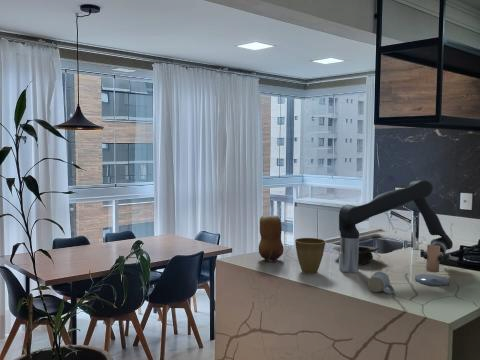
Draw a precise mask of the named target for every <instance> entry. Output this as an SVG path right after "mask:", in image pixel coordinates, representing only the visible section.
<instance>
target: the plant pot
mask: <svg viewBox="0 0 480 360" xmlns="http://www.w3.org/2000/svg"><path fill="white" fill-rule="evenodd" d="M294 242H295V243H294V244H295V251H296V256H297V260H298V263H299V267H300V269H301V272H302V273H303V274H306V275H307V274H308V275H315V274H317V273H318V271H319V268H320V265H321V263H322V259H323V256H324V251H325V247H326V240H324V239H322V238H321V239H320V238H314V237H299V238H296V239H295V240H294Z"/></svg>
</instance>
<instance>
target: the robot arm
mask: <svg viewBox="0 0 480 360" xmlns="http://www.w3.org/2000/svg"><path fill="white" fill-rule="evenodd" d="M432 192H433V184H432V183H431V182H430V181H428V180H425V179H420V180H419V179H418V180H413V181H411V182H410V183H409V184H408V187H404V188H398V189H394V190H392V189H391V190H389V191H386V192H383V193H380V194H378V195H376V196H375V197H374V198H373V199H372V200H371V201H369V202H367V203H365V204H360V205H353V204H345V205H342V206H341V208H339V209H340V210H339V213H338V231H339V234H340V237H339V238H340V239H339V241H340V242H339V247H340V250H339V251H338V270H339V272H343V273H357V272H358V271H359V265H358V253H359V246H360V232H359V230H358V229H357V226H356V225H358V224H360V223H362V222H364V221H366V220H368V219H369V218H372V217H375V216H378V215H380V214H383V213H386V212H389V211H391V210H394V209H397V208H399V207H402V206H404V205H405V204H408V203H410V202H412V201H413V202H414V204H415V205H416V207H417V209H418V211H419V213H420V214H421V216H422V218H423V220H424V222H425V226H426V228H427V230H428V233H429V234H430V236H438V238H434V239H432V240H430V244H433V245H439V246H440V256H439V262H441V261H443V260H445V261H448V260H450V259H451V255H452V254H451V252H447V250H452V248H453V246H454V245H453V241H452V239H451V238H450V237H449V235H448V234H447V233H446V231H445V230H444V228H443V225H442V223H441V220H440V218H439V216H438V215H437V213H436V212H435V211H434V210H433V208H432V207H431V206H430V205H429V203H428V202H427V199H426V198H427V197H429V196H430V195H431V194H432ZM439 236H440V237H439ZM419 254H420V255H419V256H420V258H423V259H424V260H427V250H426V251H425V249H423V248H422V249H420V253H419Z"/></svg>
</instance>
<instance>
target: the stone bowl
mask: <svg viewBox="0 0 480 360" xmlns="http://www.w3.org/2000/svg"><path fill="white" fill-rule="evenodd" d="M332 249H333V250H335V251H336V252H339V250H340V246H335V247H332ZM379 249H380V247H378V248H377V247H373V246H365V245H359V253H358V266H359V265H364V264H369V263H370V262H371V261H372V260H373V259H374V256H373V252H376V251H379Z"/></svg>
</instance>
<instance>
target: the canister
mask: <svg viewBox="0 0 480 360" xmlns="http://www.w3.org/2000/svg"><path fill="white" fill-rule="evenodd" d="M426 251H427V259H426V267H425V271H427V272H429V273H439V272H440V261H439V256H440V246H439V245H433V244H431V243H428V244H427V245H426Z"/></svg>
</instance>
